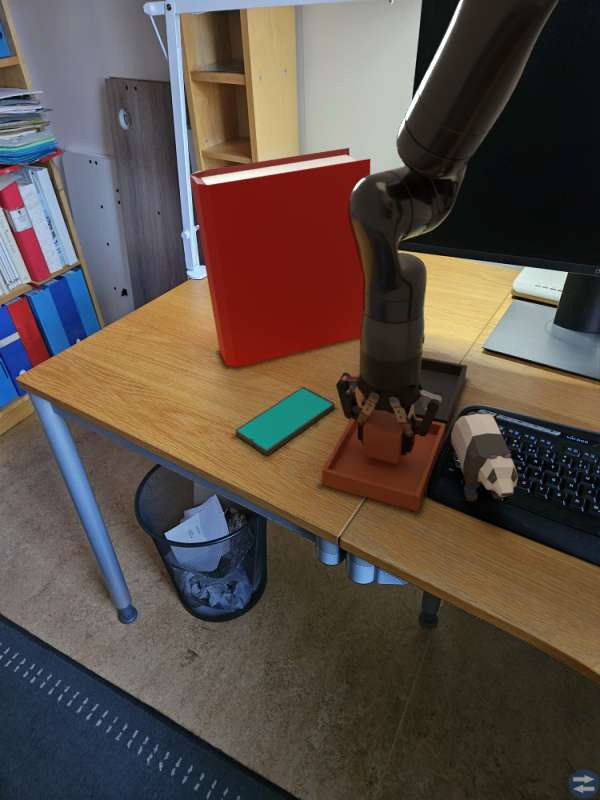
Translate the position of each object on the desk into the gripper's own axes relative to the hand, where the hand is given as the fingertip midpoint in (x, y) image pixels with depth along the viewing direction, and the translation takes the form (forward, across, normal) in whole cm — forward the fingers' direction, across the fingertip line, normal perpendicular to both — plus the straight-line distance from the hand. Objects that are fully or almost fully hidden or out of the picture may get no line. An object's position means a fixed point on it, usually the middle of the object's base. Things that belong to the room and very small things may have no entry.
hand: (385, 446), depth 77 cm
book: (+3, -26, +25) cm, 36 cm away
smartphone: (+3, -17, +3) cm, 17 cm away
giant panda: (+3, +13, 0) cm, 13 cm away
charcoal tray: (+3, 0, +16) cm, 16 cm away
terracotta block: (0, 0, 0) cm, 0 cm away
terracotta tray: (+3, 0, 0) cm, 3 cm away
